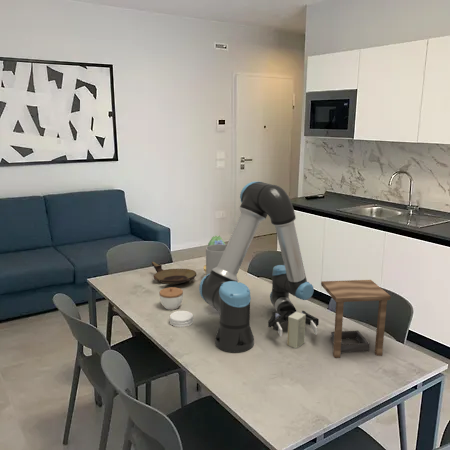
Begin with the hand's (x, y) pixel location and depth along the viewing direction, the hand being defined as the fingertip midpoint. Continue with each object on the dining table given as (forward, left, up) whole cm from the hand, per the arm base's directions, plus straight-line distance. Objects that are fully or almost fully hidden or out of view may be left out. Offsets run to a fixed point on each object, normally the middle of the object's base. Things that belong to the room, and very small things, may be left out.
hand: (298, 332), depth 170 cm
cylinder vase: (+34, +49, -7) cm, 59 cm away
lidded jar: (+14, +64, -7) cm, 65 cm away
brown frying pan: (+45, +81, -7) cm, 92 cm away
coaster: (+2, +52, -7) cm, 52 cm away
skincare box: (+3, +2, -7) cm, 7 cm away
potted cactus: (+54, +59, -7) cm, 80 cm away
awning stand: (+11, -17, -7) cm, 21 cm away
